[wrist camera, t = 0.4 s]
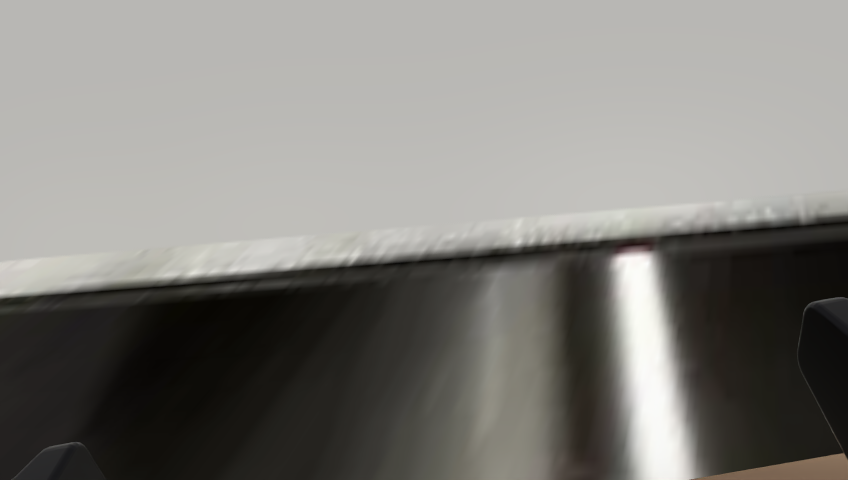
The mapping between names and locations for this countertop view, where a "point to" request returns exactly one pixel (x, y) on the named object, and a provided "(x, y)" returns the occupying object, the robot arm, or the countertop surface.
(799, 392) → the countertop surface
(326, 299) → the countertop surface
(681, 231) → the countertop surface
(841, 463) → the walnut board
